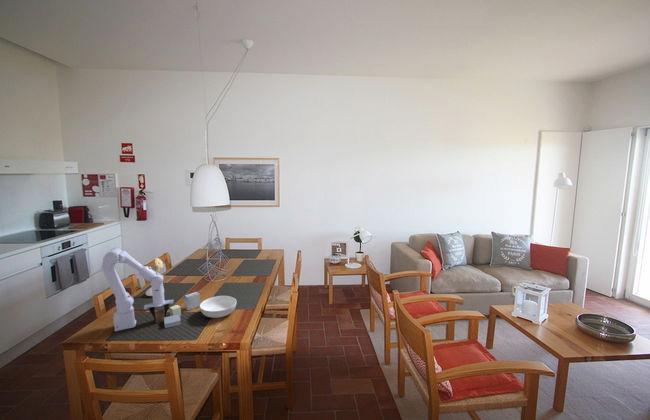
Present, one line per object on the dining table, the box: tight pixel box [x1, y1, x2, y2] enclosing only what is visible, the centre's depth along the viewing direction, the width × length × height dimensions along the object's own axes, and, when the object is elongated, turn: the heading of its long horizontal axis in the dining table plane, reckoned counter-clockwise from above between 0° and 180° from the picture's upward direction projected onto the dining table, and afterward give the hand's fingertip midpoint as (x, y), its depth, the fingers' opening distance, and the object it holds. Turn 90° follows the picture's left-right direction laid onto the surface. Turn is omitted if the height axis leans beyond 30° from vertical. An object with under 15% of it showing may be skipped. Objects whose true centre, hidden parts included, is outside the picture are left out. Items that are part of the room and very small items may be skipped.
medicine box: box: [183, 291, 201, 311], centre depth 186 cm, size 8×4×9 cm, turn 141°
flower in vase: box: [145, 257, 164, 297], centre depth 204 cm, size 13×11×25 cm
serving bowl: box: [199, 295, 237, 319], centre depth 179 cm, size 21×21×7 cm
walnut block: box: [155, 308, 165, 324], centre depth 170 cm, size 4×4×6 cm
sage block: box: [169, 304, 182, 317], centre depth 176 cm, size 4×4×6 cm
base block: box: [163, 314, 182, 329], centre depth 168 cm, size 8×8×3 cm
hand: (160, 317), depth 170 cm, fingers closed on walnut block, 4 cm apart
